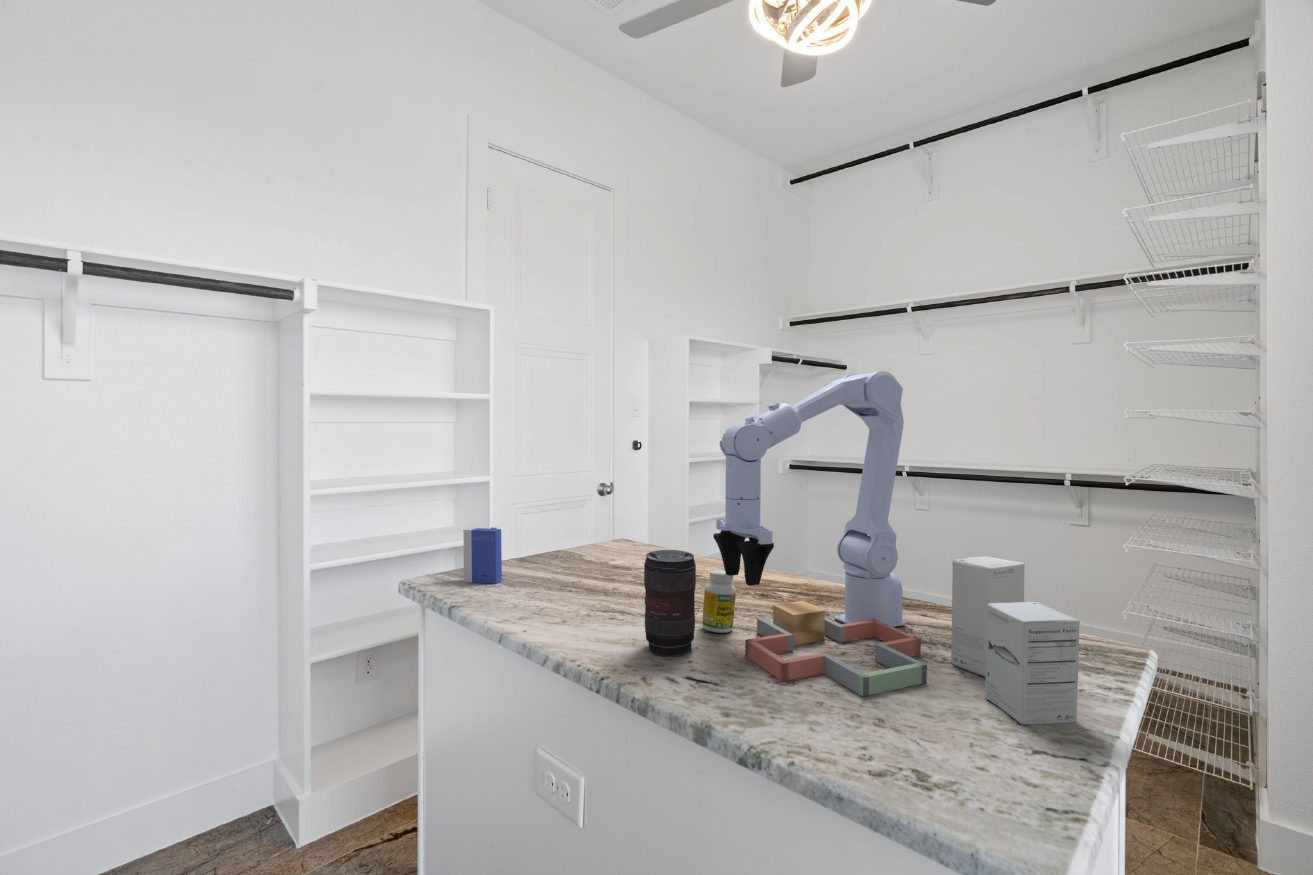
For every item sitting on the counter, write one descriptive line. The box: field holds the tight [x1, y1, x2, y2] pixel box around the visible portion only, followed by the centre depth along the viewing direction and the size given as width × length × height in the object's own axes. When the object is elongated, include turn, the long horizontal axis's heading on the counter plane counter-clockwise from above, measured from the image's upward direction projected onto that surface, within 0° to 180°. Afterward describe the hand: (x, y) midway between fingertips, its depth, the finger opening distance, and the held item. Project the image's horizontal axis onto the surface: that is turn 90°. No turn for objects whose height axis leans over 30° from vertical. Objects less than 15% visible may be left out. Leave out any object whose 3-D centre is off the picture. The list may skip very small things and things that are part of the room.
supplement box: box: [984, 601, 1080, 726], centre depth 78 cm, size 7×7×13 cm
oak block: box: [772, 600, 826, 646], centre depth 104 cm, size 6×6×5 cm
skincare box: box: [950, 555, 1025, 678], centre depth 92 cm, size 8×7×16 cm
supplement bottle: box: [701, 570, 737, 634], centre depth 108 cm, size 5×5×10 cm
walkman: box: [462, 526, 503, 585], centre depth 139 cm, size 8×3×12 cm, turn 78°
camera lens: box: [643, 549, 697, 657], centre depth 98 cm, size 8×8×15 cm
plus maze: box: [744, 616, 928, 697], centre depth 96 cm, size 25×26×2 cm
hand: (742, 579), depth 104 cm, fingers open, 6 cm apart
